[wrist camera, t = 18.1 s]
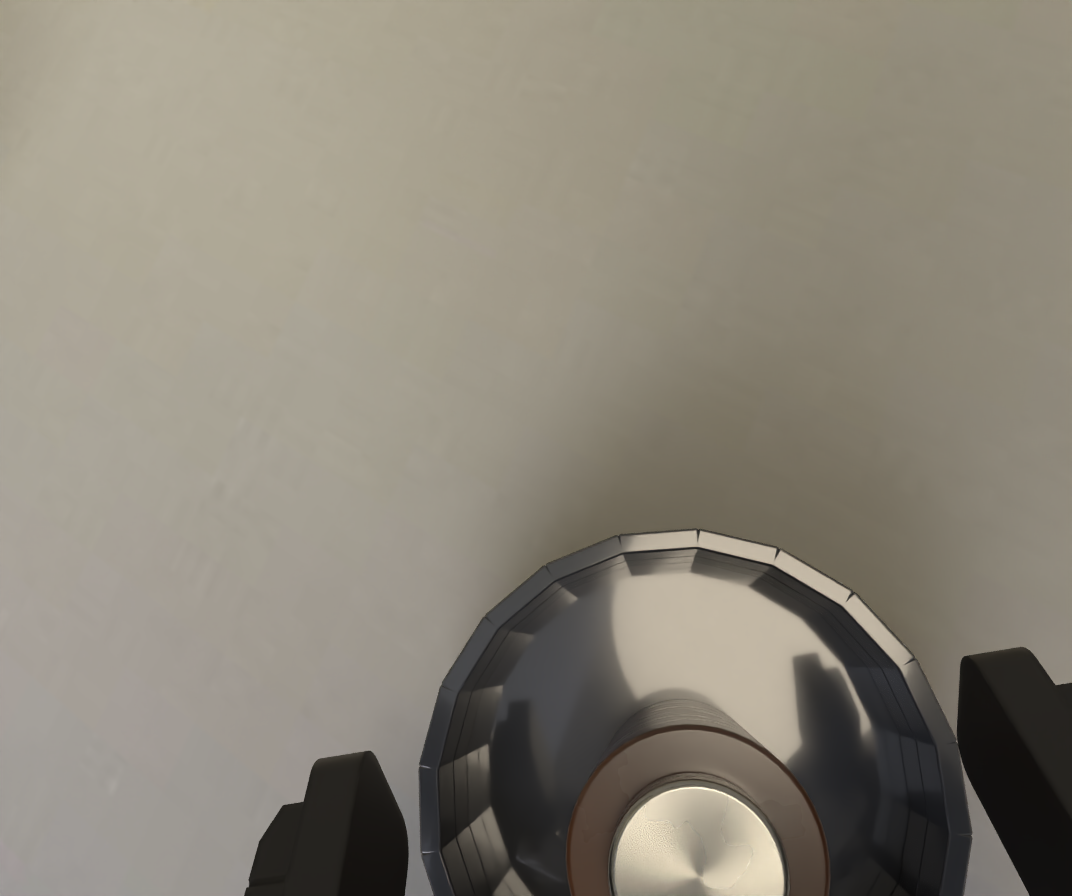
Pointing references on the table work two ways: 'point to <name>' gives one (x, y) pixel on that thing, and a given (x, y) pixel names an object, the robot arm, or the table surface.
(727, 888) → the pepper mill
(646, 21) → the table surface
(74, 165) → the table surface
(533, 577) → the pan
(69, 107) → the table surface
